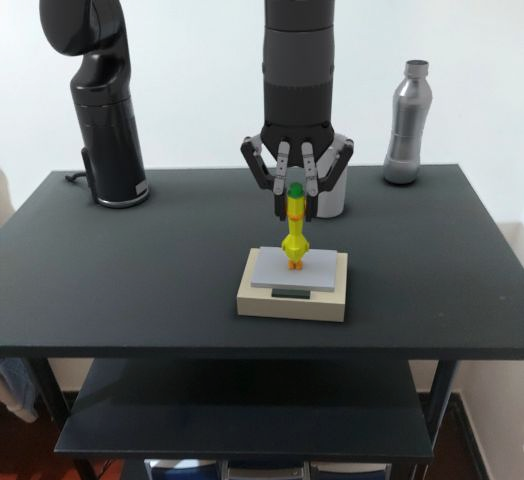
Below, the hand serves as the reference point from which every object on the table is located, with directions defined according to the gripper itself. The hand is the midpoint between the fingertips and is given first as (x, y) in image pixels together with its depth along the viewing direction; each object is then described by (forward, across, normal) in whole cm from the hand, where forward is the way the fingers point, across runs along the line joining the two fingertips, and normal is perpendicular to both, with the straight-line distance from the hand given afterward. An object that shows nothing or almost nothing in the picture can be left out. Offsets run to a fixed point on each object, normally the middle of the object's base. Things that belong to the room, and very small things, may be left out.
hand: (295, 218), depth 69 cm
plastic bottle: (+11, -16, -36) cm, 41 cm away
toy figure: (+7, 0, 0) cm, 7 cm away
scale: (+11, 0, +1) cm, 11 cm away
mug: (+11, -3, -25) cm, 28 cm away
